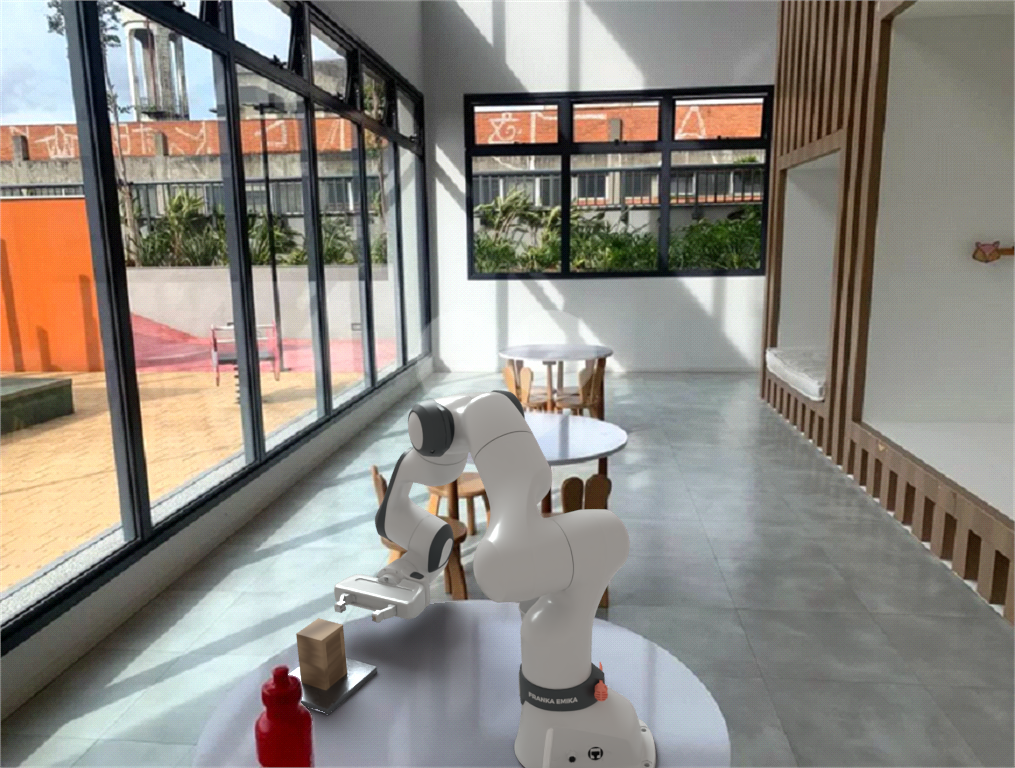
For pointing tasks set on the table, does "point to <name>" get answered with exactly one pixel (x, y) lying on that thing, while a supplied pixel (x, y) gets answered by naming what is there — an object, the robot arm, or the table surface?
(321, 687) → the brown wooden block
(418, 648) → the table surface
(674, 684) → the table surface
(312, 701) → the metal square peg base
